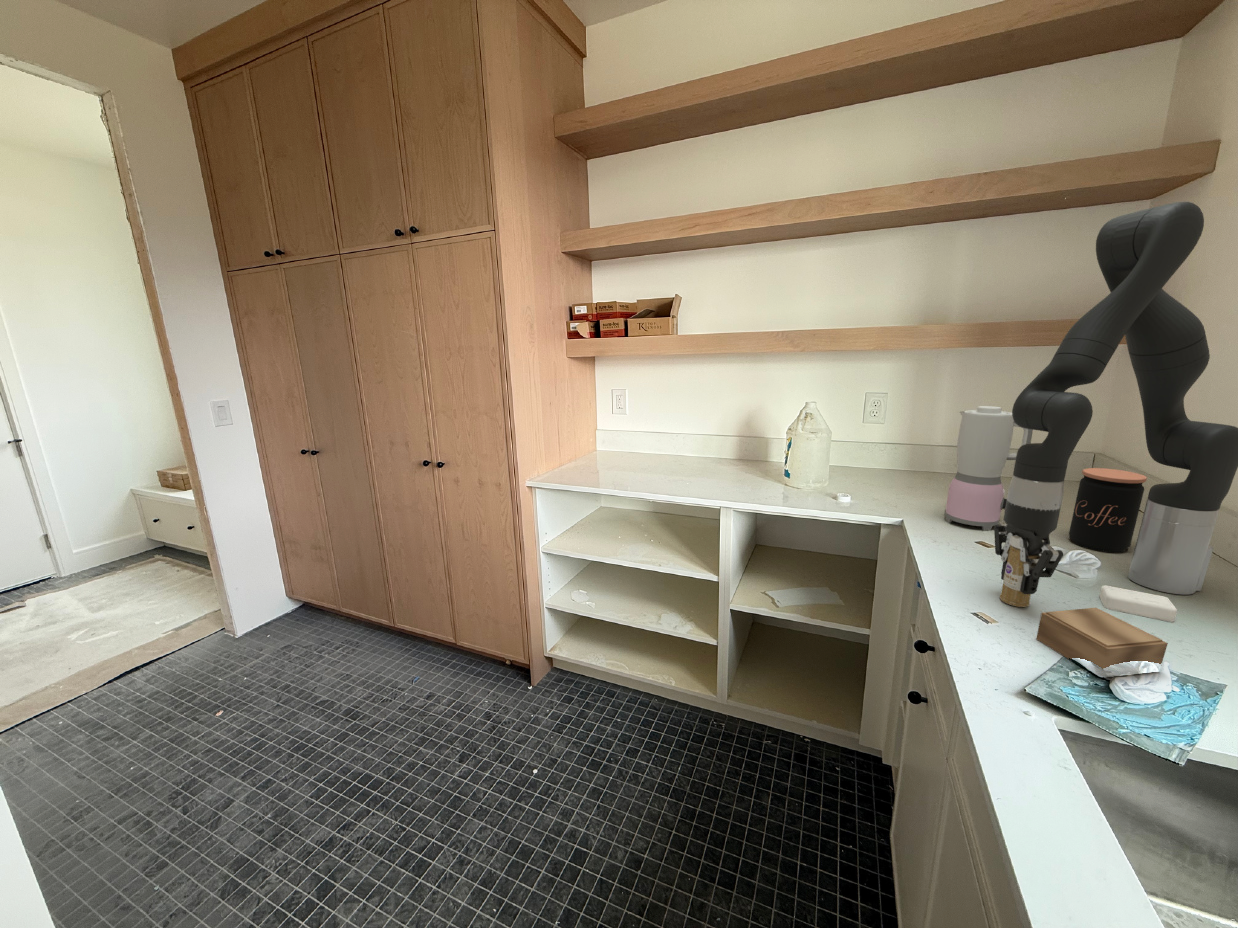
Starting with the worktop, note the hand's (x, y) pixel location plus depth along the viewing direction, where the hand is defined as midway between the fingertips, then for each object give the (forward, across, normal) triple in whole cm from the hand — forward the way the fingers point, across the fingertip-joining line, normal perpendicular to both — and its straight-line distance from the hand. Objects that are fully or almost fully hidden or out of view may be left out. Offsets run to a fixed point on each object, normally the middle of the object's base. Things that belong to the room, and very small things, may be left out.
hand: (1017, 586), depth 91 cm
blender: (+4, +42, -20) cm, 47 cm away
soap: (+4, -2, -20) cm, 21 cm away
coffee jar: (+4, +28, -39) cm, 48 cm away
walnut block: (+3, -16, -1) cm, 16 cm away
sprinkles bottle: (+3, 0, 0) cm, 3 cm away
